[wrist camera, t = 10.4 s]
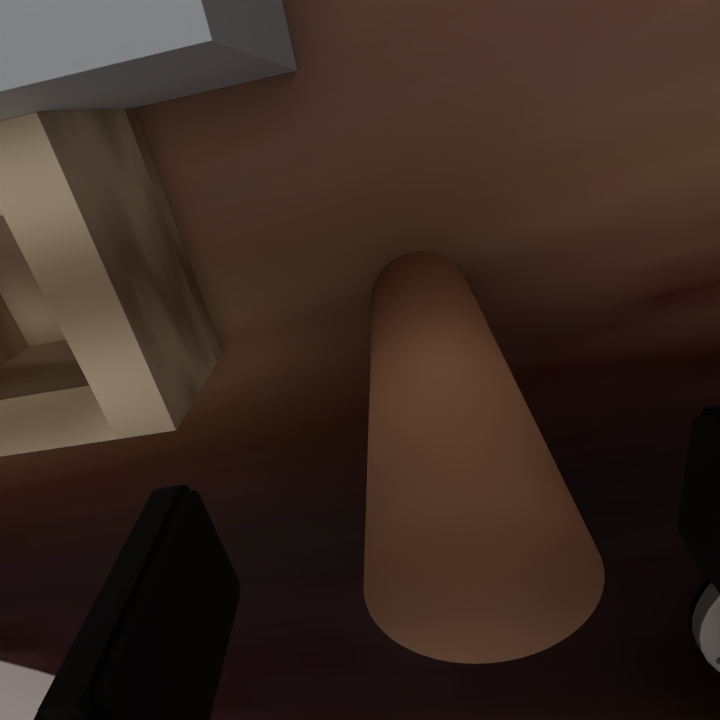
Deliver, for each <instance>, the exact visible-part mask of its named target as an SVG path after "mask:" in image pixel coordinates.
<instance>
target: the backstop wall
mask: <svg viewBox="0 0 720 720" xmlns="http://www.w3.org/2000/svg"><path fill="white" fill-rule="evenodd" d="M293 71H297V67H296V62H295V58H294V53H293V49H292V44H291V40H290V35H289V30H288V26H287V21H286V17H285V12H284V7H283V3H282V0H0V121H1V120H5V119H10V118H14V117H18V116H22V115H27V114H31V113H35V112H54V111H79V110H104V109H129V108H136V107H141V106H145V105H150V104H154V103H158V102H163V101H167V100H171V99H176V98H180V97H184V96H189V95H193V94H198V93H202V92H206V91H211V90H215V89H219V88H224V87H228V86H232V85H237V84H241V83H245V82H250V81H254V80H259V79H263V78H267V77H272V76H276V75H280V74H285V73H289V72H293Z"/></svg>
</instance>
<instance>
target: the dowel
mask: <svg viewBox="0 0 720 720" xmlns="http://www.w3.org/2000/svg"><path fill="white" fill-rule="evenodd" d="M604 580H605V577H604V566H603V563H602V559H601V556H600V554H599V552H598V550H597V548H596V546H595V544H594V542H593V540H592V538H591V536H590V534H589V531H588V529H587V527H586V525H585V523H584V521H583V519H582V517H581V515H580V513H579V511H578V509H577V507H576V505H575V503H574V501H573V499H572V497H571V494H570V492H569V490H568V488H567V486H566V484H565V482H564V480H563V478H562V476H561V474H560V472H559V470H558V468H557V466H556V464H555V462H554V460H553V458H552V455H551V453H550V451H549V449H548V447H547V445H546V443H545V441H544V439H543V437H542V435H541V433H540V431H539V429H538V427H537V425H536V423H535V421H534V418H533V416H532V414H531V412H530V410H529V408H528V406H527V404H526V402H525V400H524V398H523V396H522V394H521V392H520V390H519V388H518V386H517V384H516V382H515V379H514V377H513V375H512V373H511V371H510V369H509V367H508V365H507V363H506V361H505V359H504V357H503V355H502V353H501V351H500V349H499V347H498V345H497V342H496V340H495V338H494V336H493V334H492V332H491V330H490V328H489V326H488V324H487V322H486V320H485V318H484V316H483V314H482V312H481V310H480V308H479V306H478V303H477V301H476V299H475V297H474V295H473V293H472V291H471V289H470V287H469V285H468V283H467V281H466V279H465V277H464V275H463V273H462V272H461V270H460V269H459V268H458V267H457V266H456V265H455V264H454V263H453V262H452V261H451V260H449V259H447V258H446V257H443V256H441V255H439V254H435V253H430V252H415V253H410V254H407V255H404V256H401V257H399V258H398V259H396V260H394V261H393V262H391V263H390V264H389V265H388V266H387V267H386V268H385V269H384V270H383V271H382V272H381V274H380V275H379V277H378V279H377V281H376V283H375V286H374V289H373V295H372V327H371V361H370V394H369V428H368V462H367V496H366V529H365V563H364V597H365V602H366V605H367V608H368V610H369V613H370V614H371V616H372V618H373V619H374V621H375V623H376V624H377V625H378V626H379V627H380V628H381V630H382V631H383V632H385V633H386V634H387V635H388V636H389V637H390V638H391V639H393V640H394V641H396V642H397V643H399V644H400V645H402V646H404V647H406V648H408V649H410V650H412V651H414V652H417V653H419V654H422V655H424V656H428V657H431V658H435V659H439V660H444V661H449V662H458V663H475V664H478V663H494V662H502V661H508V660H513V659H518V658H522V657H525V656H528V655H532V654H534V653H537V652H540V651H542V650H545V649H547V648H549V647H551V646H553V645H555V644H557V643H559V642H560V641H562V640H563V639H565V638H566V637H568V636H569V635H571V634H572V633H573V632H574V631H576V630H577V629H578V628H579V627H580V626H581V625H582V624H583V623H584V622H585V621H586V620H587V619H588V618H589V616H590V615H591V614H592V612H593V611H594V610H595V608H596V606H597V604H598V602H599V600H600V598H601V595H602V592H603V587H604Z"/></svg>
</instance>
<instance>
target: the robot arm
mask: <svg viewBox="0 0 720 720" xmlns="http://www.w3.org/2000/svg"><path fill="white" fill-rule="evenodd" d="M678 529H679V533H680V536H681V538H682V540H683V542H684V544H685V545H686V547H687V548H688V550H689V551H690V552H691V554H692V555H693V557H694V558H695V560H696V561H697V562H698V564H699V565H700V567H701V568H702V570H703V571H704V572H705V574H706V575H707V577H708V578H709V580H710V581H711V583H710V585H709V586H708V587H707V588H706V589H705V591H704V592H703V594H702V596H701V597H700V599H699V601H698V602H697V604H696V607H695V610H694V614H693V617H692V632H693V635H694V638H695V641H696V643H697V645H698V646H699V648H700V650H701V651H702V653H703V655H704V656H705V658H706V660H707V661H708V662H709V663H710V664H711V665H712V666H713V667H714V668H715V669H716V670H717V671H719V672H720V405H716V406H709V407H706V408H704V409H703V411H702V413H701V416H698V417H695V418H694V420H693V423H692V429H691V436H690V442H689V449H688V456H687V463H686V470H685V477H684V484H683V491H682V498H681V504H680V511H679V518H678ZM239 596H240V585H239V580H238V577H237V575H236V573H235V571H234V569H233V567H232V564H231V562H230V560H229V558H228V556H227V554H226V551H225V549H224V547H223V545H222V543H221V541H220V538H219V536H218V534H217V532H216V530H215V528H214V525H213V523H212V521H211V519H210V517H209V515H208V512H207V510H206V508H205V506H204V504H203V501H202V499H201V497H200V495H199V494H198V492H197V491H191V490H190V489H189V487H188V486H186V485H177V486H171V487H164V488H157V489H155V490H154V491H153V492H152V494H151V495H150V497H149V499H148V501H147V503H146V505H145V507H144V508H143V510H142V512H141V514H140V516H139V518H138V520H137V522H136V524H135V526H134V528H133V529H132V531H131V533H130V535H129V537H128V539H127V541H126V543H125V545H124V547H123V549H122V550H121V552H120V554H119V556H118V558H117V560H116V562H115V564H114V566H113V568H112V570H111V571H110V573H109V575H108V577H107V579H106V581H105V583H104V585H103V587H102V589H101V591H100V592H99V594H98V596H97V598H96V600H95V602H94V604H93V606H92V608H91V610H90V612H89V613H88V615H87V617H86V619H85V621H84V623H83V625H82V627H81V629H80V631H79V633H78V634H77V636H76V638H75V640H74V642H73V644H72V646H71V648H70V650H69V652H68V654H67V655H66V657H65V659H64V661H63V663H62V665H61V667H60V669H59V671H58V673H57V675H56V676H55V678H54V680H53V682H52V684H51V686H50V688H49V690H48V692H47V694H46V696H45V698H44V699H43V701H42V703H41V705H40V707H39V709H38V712H37V714H36V716H35V718H34V720H210V716H211V712H212V708H213V704H214V700H215V696H216V692H217V687H218V683H219V679H220V675H221V671H222V667H223V663H224V659H225V655H226V651H227V647H228V642H229V638H230V634H231V630H232V626H233V622H234V618H235V614H236V610H237V606H238V601H239Z"/></svg>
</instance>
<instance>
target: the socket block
mask: <svg viewBox="0 0 720 720" xmlns="http://www.w3.org/2000/svg"><path fill="white" fill-rule="evenodd" d="M221 356H222V352H221V349H220V346H219V343H218V341H217V338H216V335H215V332H214V329H213V327H212V324H211V321H210V318H209V316H208V313H207V310H206V307H205V304H204V302H203V299H202V296H201V293H200V290H199V288H198V285H197V282H196V279H195V276H194V274H193V271H192V268H191V265H190V262H189V260H188V257H187V254H186V251H185V248H184V246H183V243H182V240H181V237H180V234H179V232H178V229H177V226H176V223H175V220H174V218H173V215H172V212H171V209H170V206H169V204H168V201H167V198H166V195H165V192H164V190H163V187H162V184H161V181H160V178H159V176H158V173H157V170H156V167H155V164H154V162H153V159H152V156H151V153H150V150H149V148H148V145H147V142H146V139H145V136H144V134H143V131H142V128H141V125H140V123H139V120H138V117H137V114H136V111H135V109H134V108H129V109H104V110H79V111H54V112H35V113H31V114H27V115H22V116H18V117H14V118H10V119H5V120H1V121H0V456H7V455H14V454H20V453H27V452H34V451H40V450H47V449H54V448H60V447H67V446H74V445H81V444H87V443H94V442H101V441H107V440H114V439H121V438H128V437H134V436H141V435H148V434H154V433H161V432H168V431H174V430H176V429H177V428H178V426H179V425H180V423H181V421H182V420H183V418H184V416H185V415H186V413H187V411H188V410H189V408H190V406H191V405H192V403H193V402H194V400H195V398H196V397H197V395H198V393H199V392H200V390H201V388H202V387H203V385H204V383H205V382H206V380H207V379H208V377H209V375H210V374H211V372H212V370H213V369H214V367H215V365H216V364H217V362H218V361H219V359H220V357H221Z"/></svg>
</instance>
